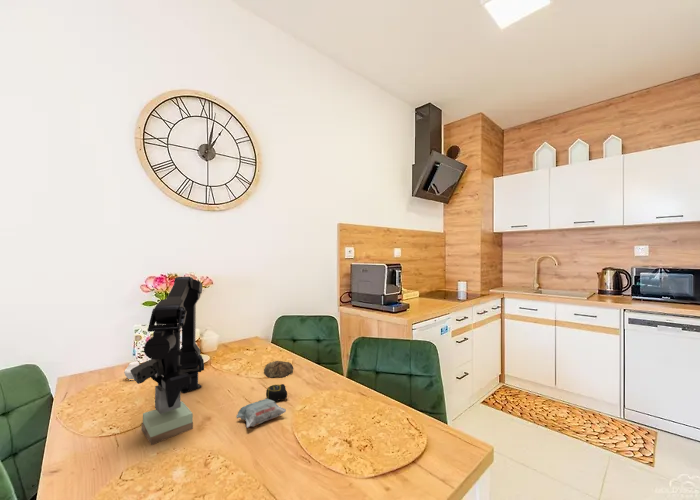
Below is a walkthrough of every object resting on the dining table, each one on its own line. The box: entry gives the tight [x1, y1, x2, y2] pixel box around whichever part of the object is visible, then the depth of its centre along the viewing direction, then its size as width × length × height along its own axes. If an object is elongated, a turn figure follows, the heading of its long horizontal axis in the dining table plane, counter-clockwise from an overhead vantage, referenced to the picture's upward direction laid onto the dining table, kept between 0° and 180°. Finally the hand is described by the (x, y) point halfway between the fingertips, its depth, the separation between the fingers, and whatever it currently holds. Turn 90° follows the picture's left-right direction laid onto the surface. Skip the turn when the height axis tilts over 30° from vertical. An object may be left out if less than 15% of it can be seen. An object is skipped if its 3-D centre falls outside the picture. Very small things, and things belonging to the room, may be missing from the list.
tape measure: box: [265, 383, 288, 402], centre depth 102 cm, size 7×7×4 cm
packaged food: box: [235, 398, 287, 429], centre depth 88 cm, size 9×12×5 cm
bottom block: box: [140, 422, 194, 446], centre depth 84 cm, size 10×10×2 cm
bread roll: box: [263, 360, 294, 379], centre depth 126 cm, size 13×12×5 cm
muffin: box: [123, 360, 140, 380], centre depth 119 cm, size 6×6×7 cm
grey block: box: [154, 384, 182, 414], centre depth 84 cm, size 5×5×6 cm
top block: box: [142, 400, 194, 437], centre depth 84 cm, size 10×10×2 cm
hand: (167, 403), depth 84 cm, fingers closed on grey block, 5 cm apart
